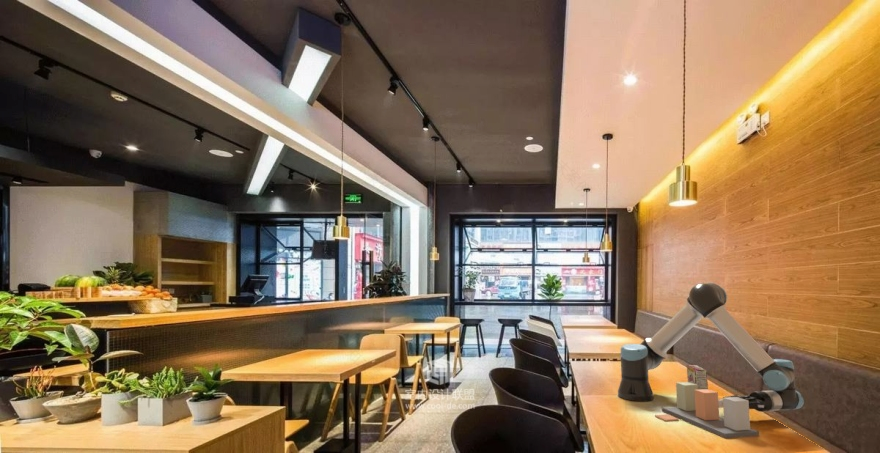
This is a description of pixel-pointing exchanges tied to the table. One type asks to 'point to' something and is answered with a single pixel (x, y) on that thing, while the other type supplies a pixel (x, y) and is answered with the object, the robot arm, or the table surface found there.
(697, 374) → the candy bar box
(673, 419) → the terracotta tile
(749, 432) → the charcoal key base
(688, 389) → the sage green block
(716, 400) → the terracotta key
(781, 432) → the table surface
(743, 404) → the light grey block
